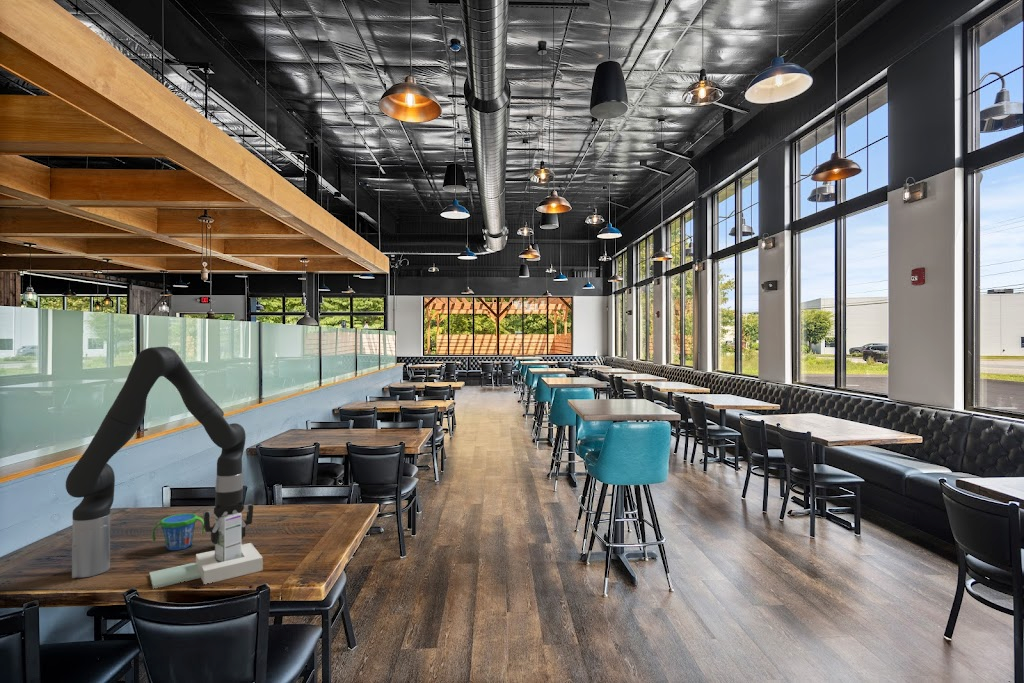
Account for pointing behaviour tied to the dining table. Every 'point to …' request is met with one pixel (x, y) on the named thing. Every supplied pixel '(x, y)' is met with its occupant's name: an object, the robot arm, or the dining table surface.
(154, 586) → the tile
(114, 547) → the dining table surface
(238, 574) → the pocket
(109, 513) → the robot arm
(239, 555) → the syrup box
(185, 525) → the snack cup
